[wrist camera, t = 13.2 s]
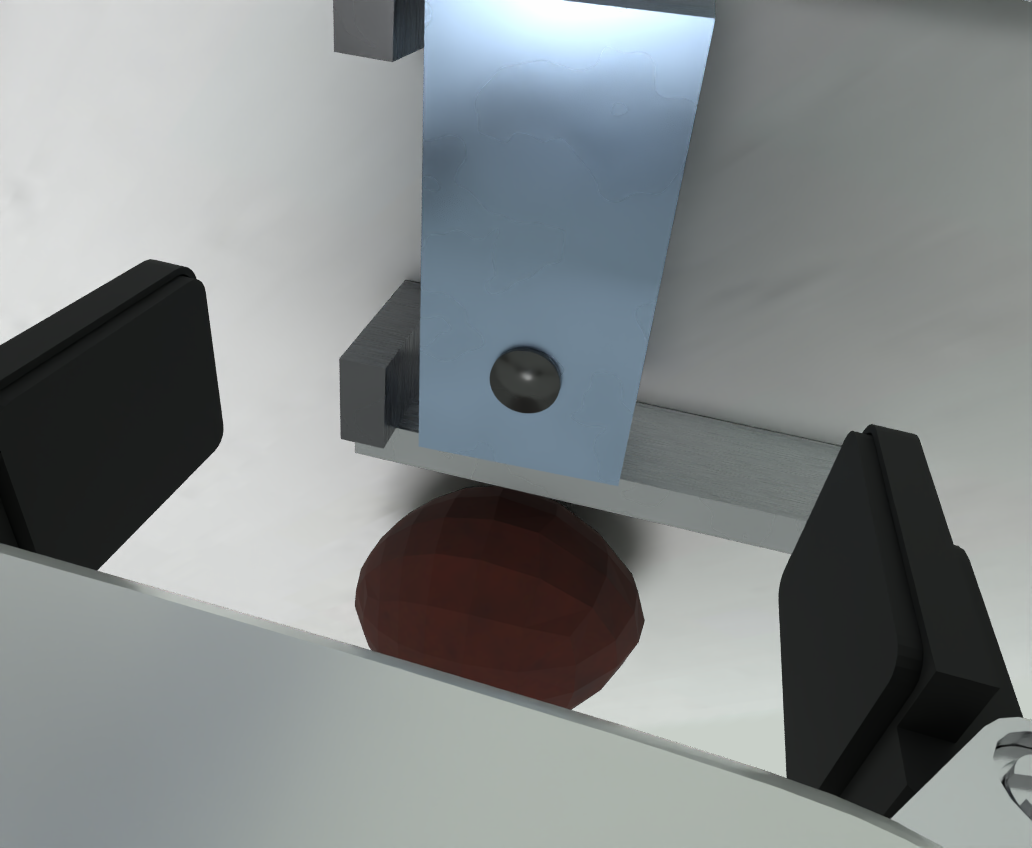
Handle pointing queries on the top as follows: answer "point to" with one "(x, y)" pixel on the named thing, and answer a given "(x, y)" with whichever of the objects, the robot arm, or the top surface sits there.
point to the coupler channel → (654, 430)
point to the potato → (501, 595)
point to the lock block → (548, 219)
